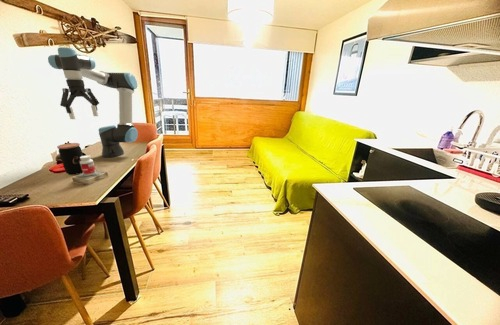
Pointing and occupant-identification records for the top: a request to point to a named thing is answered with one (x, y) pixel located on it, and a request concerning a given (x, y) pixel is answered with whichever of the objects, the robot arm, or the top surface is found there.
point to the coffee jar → (71, 157)
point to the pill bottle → (87, 166)
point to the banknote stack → (90, 178)
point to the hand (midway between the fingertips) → (85, 117)
